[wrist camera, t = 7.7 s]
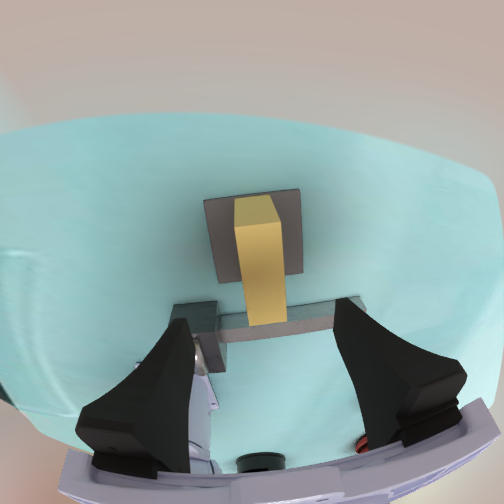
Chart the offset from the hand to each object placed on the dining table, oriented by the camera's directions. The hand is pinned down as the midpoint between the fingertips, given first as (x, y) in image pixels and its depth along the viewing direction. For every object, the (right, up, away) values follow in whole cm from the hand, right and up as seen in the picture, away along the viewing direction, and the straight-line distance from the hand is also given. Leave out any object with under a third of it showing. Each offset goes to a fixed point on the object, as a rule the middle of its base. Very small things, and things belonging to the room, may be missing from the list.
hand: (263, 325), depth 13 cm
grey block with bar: (+2, -2, +12) cm, 13 cm away
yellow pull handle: (0, +4, +8) cm, 10 cm away
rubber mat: (0, +5, +9) cm, 10 cm away
